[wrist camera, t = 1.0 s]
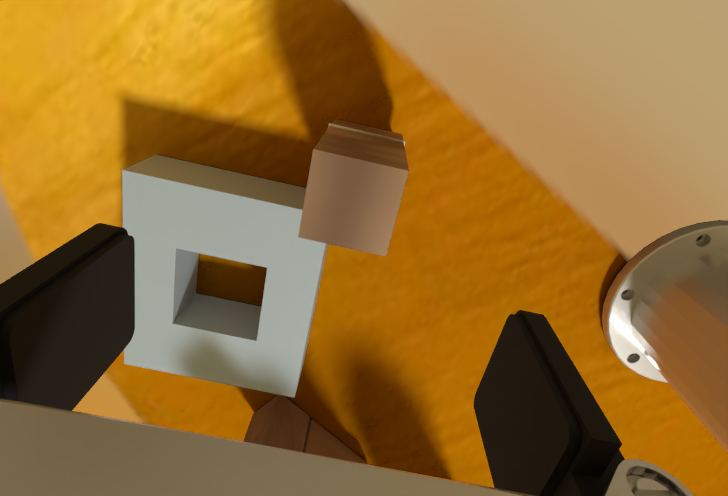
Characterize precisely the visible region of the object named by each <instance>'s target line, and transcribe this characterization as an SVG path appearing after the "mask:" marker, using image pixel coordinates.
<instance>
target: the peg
mask: <svg viewBox="0 0 728 496" xmlns="http://www.w3.org/2000/svg"><path fill="white" fill-rule="evenodd" d="M404 145H405V141H404V140H403V137H402V134H399V133H395V132H391V131H386V130H382V129H378V128H373V127H369V126H365V125H361V124H356V123H352V122H348V121H343V120H339V119H334V121H333V122H332V123H329V124H328V129H327V130H326V132H325V133H324V135H323V136H322V137H321V139H320V140H319V142H318V143H317V144H316V146H315V147H314V149H313V153H312V159H311V165H310V170H309V176H308V182H307V188H306V194H305V200H304V206H303V211H302V217H301V223H300V229H299V235H298V237H299V238H304V239H308V240H313V241H317V242H322V243H327V244H331V245H336V246H340V247H345V248H349V249H354V250H359V251H363V252H368V253H372V254H377V255H381V256H386V254H387V251H388V247H389V243H390V239H391V236H392V232H393V228H394V225H395V221H396V217H397V213H398V210H399V206H400V202H401V198H402V195H403V191H404V187H405V183H406V180H407V176H408V172H409V169H408V164H407V158H406V153H405V148H404Z"/></svg>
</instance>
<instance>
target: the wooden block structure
mask: <svg viewBox="0 0 728 496" xmlns="http://www.w3.org/2000/svg"><path fill="white" fill-rule="evenodd" d="M309 419H310V418H309V416H308V414H306V413H305V412H304V411H303V410H301V409H300V408H299V407H298V406H297V405H295V404H294V403H293V402H292V401H290V400H289V399H288V398H287V397H285V396H283V395H277V396H276V397H274V398H273V399H272V400H270V401H269V402H268V403H266V404H265V405H264V406H262V407H261V408H260V409H258V410H257V411H256V412H255V413H254V414H253V416H252V419H251V422H250V425H249V427H248V430H247V433H246V436H245V438H244V441H243V442H248V443H254V444H259V445H265V446H270V447H276V448H281V449H287V450H292V451H298V452H303V453H309V454H314V455H320V456H325V457H331V458H336V459H341V460H347V461H352V462H358V463H363V464H367V463H366V462H365V461H364V460H363V459H362V458H360V457H359V456H358V455H357V454H355V453H354V452H353V451H352V450H350V449H349V448H348V447H347V446H345V445H344V444H343V443H342V442H341V441H339V440H338V439H337V438H336V437H334V436H333V435H332V434H331V433H329V432H328V431H327V430H326V429H324V428H323V427H322V426H321V425H319V424H318V423H317V422H316V421H315V420H313V419H310V420H309Z"/></svg>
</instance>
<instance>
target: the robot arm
mask: <svg viewBox="0 0 728 496" xmlns="http://www.w3.org/2000/svg"><path fill="white" fill-rule="evenodd" d="M602 325H603V332H604V335H605V337H606V340H607V343H608V345H609V346H610V347H611V349H612V350H613V352H614V353H615V355H616V356H617V357H618V358H619V360H620V361H621V362H622V363H623V364H624V365H625V366H626V367H628V368H629V369H631V370H632V371H634V372H635V373H637V374H639V375H641V376H644V377H646V378H649V379H652V380H656V381H661V382H666V383H669V384H670V385H671V386H672V388H673V389H674V390H675V391H676V392H677V394H678V395H679V396H680V397H681V398H682V400H683V401H684V402H685V403H686V404H687V405H688V407H689V408H690V409H691V410H692V411H693V413H694V414H695V415H696V416H697V417H698V418H699V420H700V421H701V422H702V423H703V424H704V426H705V427H706V428H707V429H708V430H709V432H710V433H711V434H712V435H713V436H714V437H715V439H716V440H717V441H718V442H719V443H720V445H721V446H722V447H723V448H724V449H725V450H726V452H727V453H728V221H721V220H718V221H710V222H703V223H697V224H694V225H690V226H687V227H683V228H680V229H678V230H675V231H673V232H671V233H669V234H667V235H664V236H662V237H660V238H659V239H657V240H656V241H654V242H652V243H651V244H649V245H648V246H646V247H644V248H643V249H642V250H641V251H640V252H638V253H637V254H636V255H635V256H634V257H633V258H632V259H630V260H629V261H628V262H627V264H626V265H625V266H624V267H623V268H622V270H621V271H620V272H619V273H618V274H617V276H616V278H615V279H614V281H613V283H612V284H611V286H610V288H609V290H608V293H607V295H606V298H605V301H604V304H603V312H602ZM134 330H135V242H134V238H133V236H130V235H128V232H127V230H126V229H125V228H121V227H116V226H111V225H107V224H102V223H98V224H96V225H94V226H93V227H91V228H89V229H88V230H86V231H85V232H83V233H81V234H80V235H78V236H77V237H75V238H73V239H72V240H70V241H69V242H67V243H65V244H64V245H62V246H61V247H59V248H57V249H56V250H54V251H53V252H51V253H50V254H48V255H46V256H45V257H43V258H42V259H40V260H38V261H37V262H35V263H34V264H32V265H30V266H29V267H27V268H26V269H24V270H23V271H21V272H19V273H18V274H16V275H14V276H13V277H11V278H10V279H8V280H6V281H5V282H4V283H2V284H0V496H693V494H692V493H691V492H690V491H689V490H688V489H687V488H686V487H685V486H684V485H683V484H682V483H681V482H680V481H679V480H677V479H676V478H674V477H673V476H672V475H670V474H669V473H668V472H666V471H664V470H663V469H661V468H659V467H657V466H655V465H653V464H651V463H648V462H645V461H642V460H636V459H628V460H625V459H624V457H623V456H622V454H621V452H620V451H619V448H620V447H621V445H622V443H621V442H620V440H619V438H618V437H617V435H616V433H615V432H614V430H613V428H612V427H611V425H610V423H609V422H608V420H607V418H606V417H605V415H604V413H603V412H602V410H601V409H600V407H599V405H598V404H597V402H596V400H595V399H594V397H593V395H592V394H591V392H590V390H589V389H588V387H587V385H586V384H585V382H584V380H583V379H582V377H581V375H580V374H579V372H578V371H577V369H576V367H575V366H574V364H573V362H572V361H571V359H570V357H569V356H568V354H567V352H566V351H565V349H564V347H563V346H562V344H561V342H560V341H559V339H558V338H557V336H556V334H555V333H554V331H553V329H552V328H551V326H550V324H549V323H548V321H547V319H546V318H545V316H544V315H542V314H537V313H532V312H527V311H522V310H519V311H518V312H517V313H516V314H515V315H514V314H511V315H509V317H508V318H507V320H506V323H505V325H504V327H503V330H502V332H501V335H500V337H499V339H498V342H497V344H496V347H495V349H494V351H493V354H492V356H491V358H490V361H489V363H488V366H487V368H486V370H485V373H484V375H483V378H482V380H481V382H480V385H479V387H478V389H477V392H476V395H475V399H474V409H475V413H476V417H477V421H478V425H479V429H480V433H481V437H482V440H483V444H484V448H485V452H486V456H487V460H488V464H489V468H490V472H491V475H492V479H493V483H494V487H495V488H492V487H486V486H481V485H476V484H470V483H465V482H460V481H454V480H449V479H444V478H438V477H433V476H428V475H423V474H417V473H412V472H407V471H401V470H396V469H390V468H385V467H379V466H374V465H369V464H363V463H358V462H352V461H347V460H341V459H336V458H331V457H325V456H320V455H314V454H309V453H303V452H298V451H292V450H287V449H281V448H276V447H270V446H265V445H259V444H254V443H248V442H243V441H237V440H232V439H226V438H221V437H215V436H210V435H204V434H199V433H193V432H188V431H182V430H176V429H171V428H165V427H160V426H154V425H149V424H143V423H137V422H131V421H125V420H120V419H114V418H108V417H103V416H98V415H92V414H86V413H81V412H75V411H72V410H73V409H74V408H75V406H76V405H77V404H78V403H79V402H80V401H81V399H82V398H83V397H84V396H85V395H86V393H87V392H88V391H89V390H90V389H91V388H92V386H93V385H94V384H95V383H96V382H97V380H98V379H99V378H100V377H101V376H102V375H103V373H104V372H105V371H106V370H107V369H108V367H109V366H110V365H111V364H112V363H113V362H114V360H115V359H116V358H117V357H118V356H119V354H120V353H121V352H122V351H123V350H124V349H125V347H126V346H127V345H128V344H129V342H130V341H131V339H132V337H133V334H134Z"/></svg>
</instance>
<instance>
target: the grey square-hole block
mask: <svg viewBox="0 0 728 496" xmlns="http://www.w3.org/2000/svg"><path fill="white" fill-rule="evenodd" d="M122 192H123V228H125V229H126V230H127V232H128V235H130V236H133V238H134V242H135V330H134V334H133V337H132V339H131V341H130V342H129V344H128V345H127V346H126V347H125V349H124V364H128V365H133V366H138V367H143V368H148V369H153V370H158V371H163V372H168V373H173V374H178V375H183V376H188V377H193V378H198V379H203V380H208V381H213V382H218V383H223V384H228V385H233V386H238V387H243V388H248V389H253V390H258V391H263V392H268V393H273V394H278V395H283V396H288V397H293V398H295V394H296V391H297V387H298V383H299V379H300V375H301V371H302V367H303V364H304V359H305V354H306V349H307V345H308V340H309V335H310V330H311V325H312V320H313V315H314V310H315V305H316V300H317V295H318V291H319V286H320V281H321V276H322V271H323V266H324V261H325V256H326V251H327V246H328V244H327V243H322V242H317V241H313V240H308V239H304V238H299V237H298V235H299V229H300V223H301V217H302V211H303V206H304V200H305V194H306V188H304V187H299V186H295V185H290V184H286V183H281V182H277V181H272V180H268V179H263V178H259V177H255V176H250V175H246V174H241V173H237V172H232V171H228V170H223V169H219V168H214V167H210V166H205V165H201V164H196V163H192V162H188V161H183V160H179V159H174V158H170V157H165V156H161V155H153V156H151V157H149V158H147V159H145V160H143V161H140V162H138V163H136V164H134V165H132V166H130V167H128V168H125V169H123V170H122ZM199 253H201V254H205V255H210V256H215V257H219V258H224V259H229V260H233V261H238V262H243V263H247V264H252V265H257V266H261V267H266V268H267V273H266V280H265V287H264V294H263V301H262V307H260V306H256V305H251V304H246V303H241V302H236V301H232V300H227V299H222V298H217V297H213V296H208V295H203V294H198V293H196V289H197V274H198V260H199Z"/></svg>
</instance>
